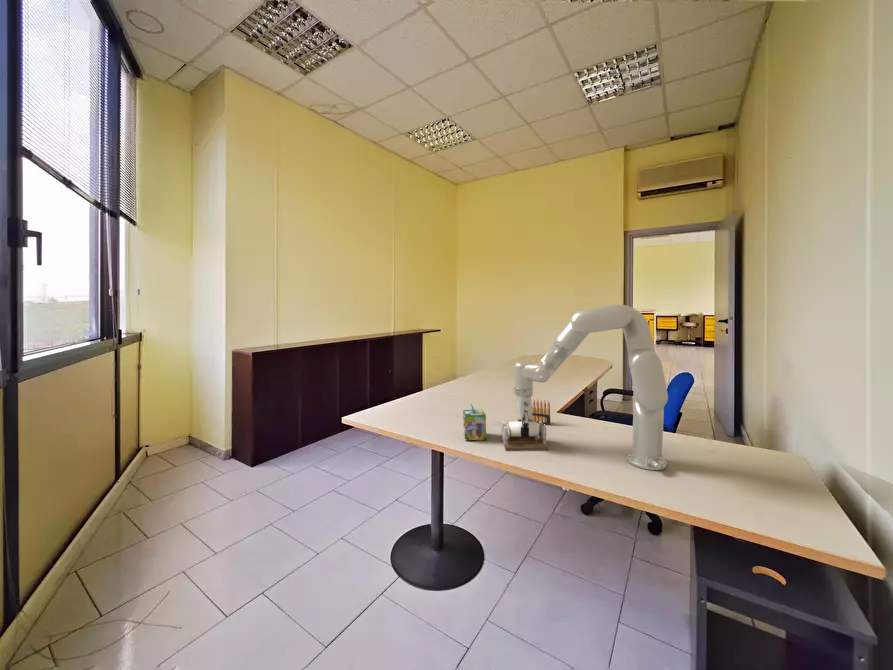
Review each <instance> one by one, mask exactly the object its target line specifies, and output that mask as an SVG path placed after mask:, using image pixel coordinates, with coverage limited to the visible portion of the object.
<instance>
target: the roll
mask: <svg viewBox="0 0 893 670" xmlns="http://www.w3.org/2000/svg"><path fill="white" fill-rule="evenodd" d="M523 424H524V422H523ZM521 427H522V424H521V422H518V421H509V423H508V435H510V437H512V436H521ZM529 436H538V424H537V422H529Z"/></svg>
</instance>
